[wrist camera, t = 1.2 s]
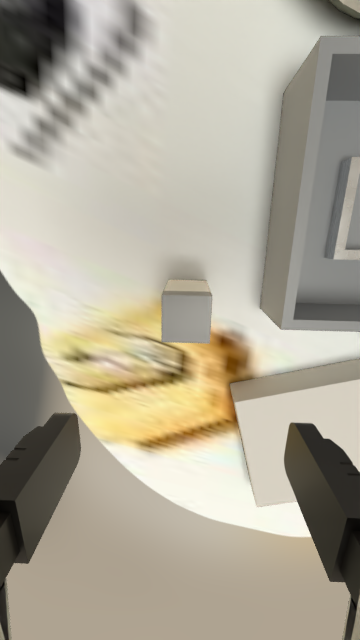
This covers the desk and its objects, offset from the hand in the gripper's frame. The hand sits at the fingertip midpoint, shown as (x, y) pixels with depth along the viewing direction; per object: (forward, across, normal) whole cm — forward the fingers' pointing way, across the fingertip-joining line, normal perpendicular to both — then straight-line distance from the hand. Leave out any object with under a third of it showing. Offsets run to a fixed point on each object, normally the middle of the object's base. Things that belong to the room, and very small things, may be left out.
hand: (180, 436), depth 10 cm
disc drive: (+25, -19, +17) cm, 36 cm away
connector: (+24, 0, 0) cm, 24 cm away
